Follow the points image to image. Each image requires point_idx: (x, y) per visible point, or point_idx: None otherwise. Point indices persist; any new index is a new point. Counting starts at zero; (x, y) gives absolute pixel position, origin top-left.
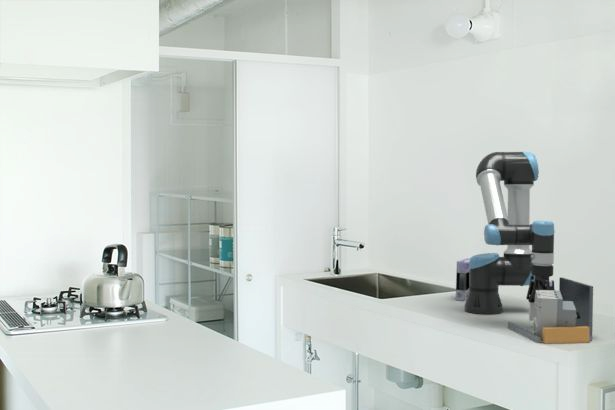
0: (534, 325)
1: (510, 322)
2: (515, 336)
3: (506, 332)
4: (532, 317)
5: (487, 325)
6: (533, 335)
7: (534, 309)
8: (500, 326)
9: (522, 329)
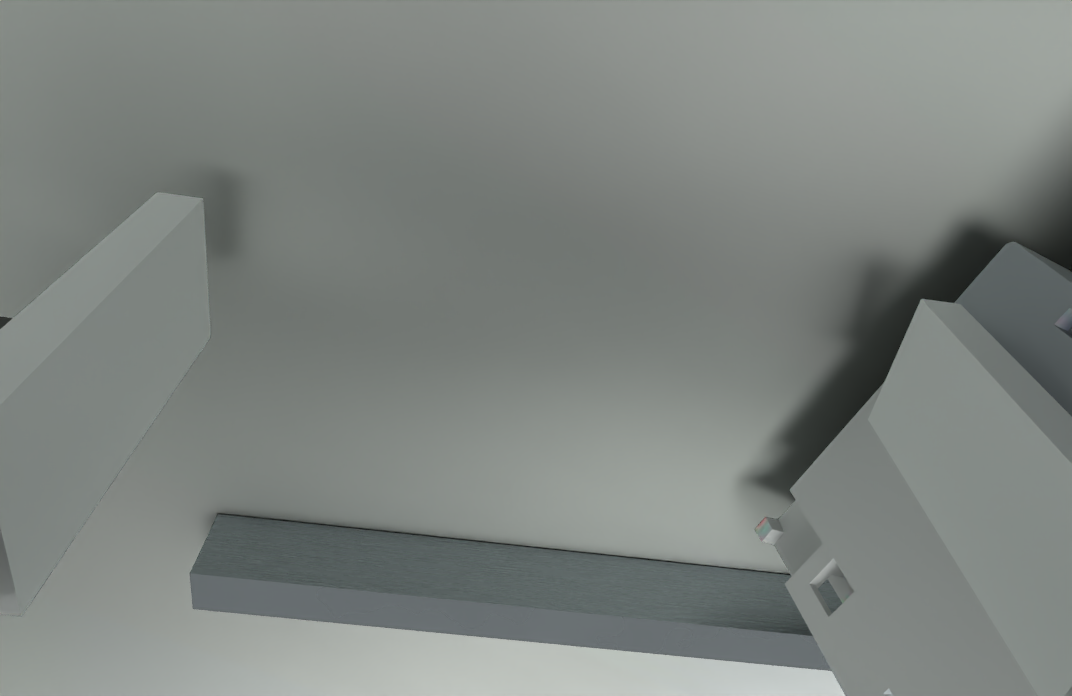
0: (809, 592)
1: (217, 586)
2: (722, 675)
3: (495, 664)
4: (185, 320)
5: (51, 668)
6: None
7: (99, 380)
8: (122, 579)
9: (716, 659)
